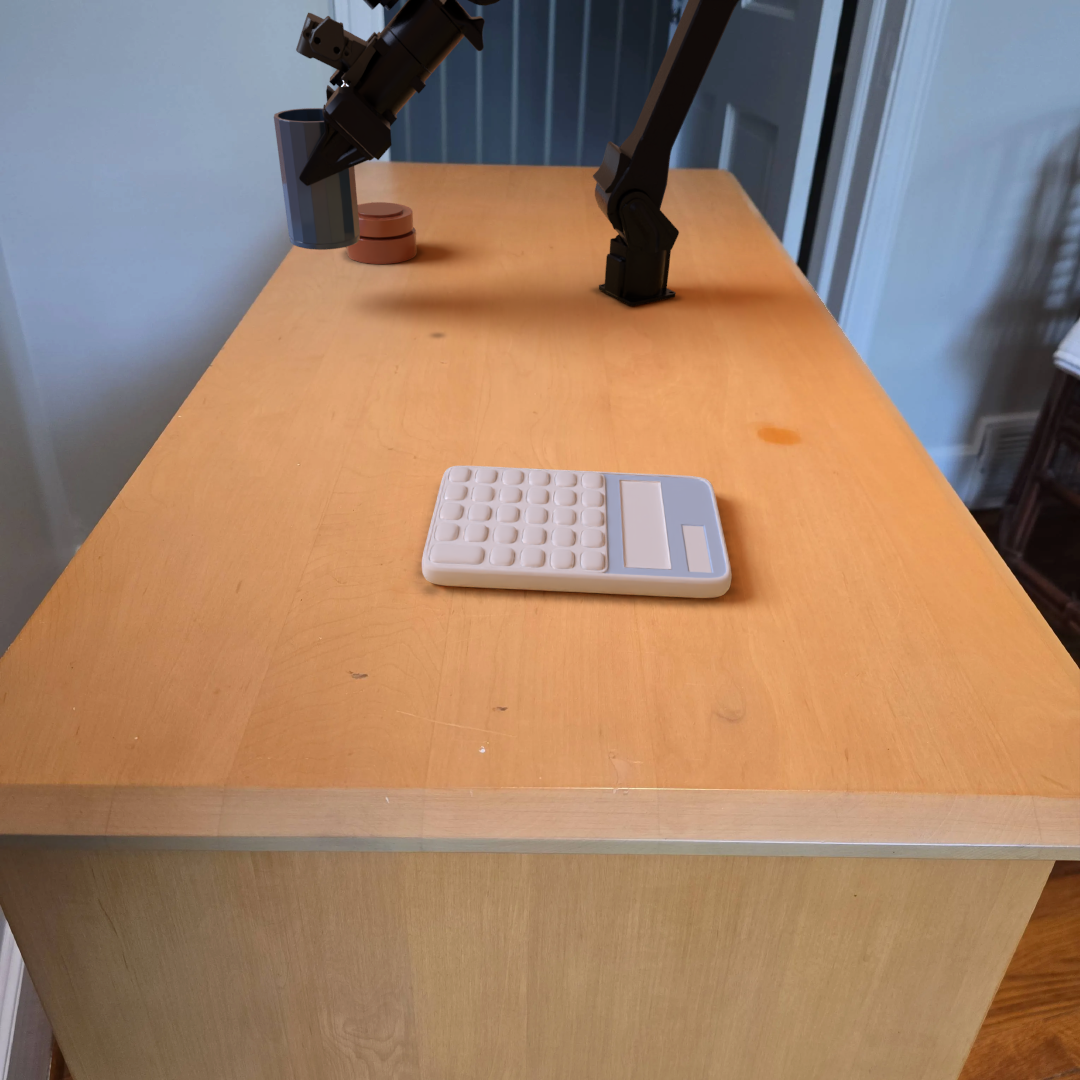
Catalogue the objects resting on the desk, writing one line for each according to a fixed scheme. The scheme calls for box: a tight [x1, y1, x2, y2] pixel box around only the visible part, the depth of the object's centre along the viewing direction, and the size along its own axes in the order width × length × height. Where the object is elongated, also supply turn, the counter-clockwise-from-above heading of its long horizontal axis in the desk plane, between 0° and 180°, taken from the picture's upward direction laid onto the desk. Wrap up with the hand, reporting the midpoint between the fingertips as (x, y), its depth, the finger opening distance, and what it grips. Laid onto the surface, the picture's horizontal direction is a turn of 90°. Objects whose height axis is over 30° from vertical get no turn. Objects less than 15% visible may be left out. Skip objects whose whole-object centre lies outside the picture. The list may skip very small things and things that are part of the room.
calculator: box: [421, 465, 732, 599], centre depth 64 cm, size 13×20×2 cm, turn 88°
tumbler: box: [273, 107, 360, 251], centre depth 94 cm, size 7×7×12 cm
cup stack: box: [345, 201, 418, 265], centre depth 114 cm, size 9×9×5 cm
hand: (304, 172), depth 94 cm, fingers closed on tumbler, 7 cm apart
